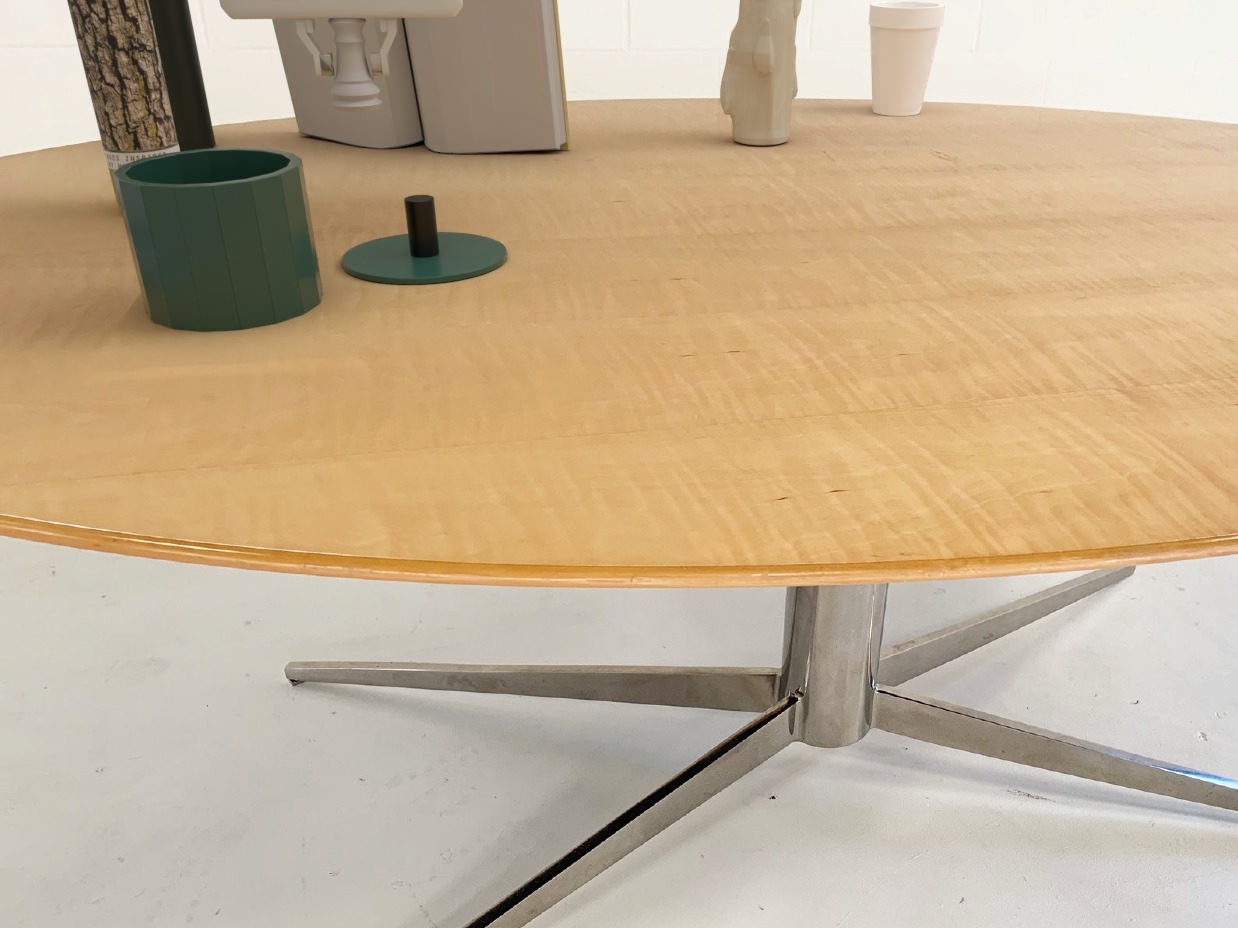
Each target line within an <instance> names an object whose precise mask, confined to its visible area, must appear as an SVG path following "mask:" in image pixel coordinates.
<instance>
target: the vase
mask: <svg viewBox="0 0 1238 928" xmlns="http://www.w3.org/2000/svg"><path fill="white" fill-rule="evenodd" d="M802 1H803V0H739V7H738V17H737V21H736V24H735V25H734V26H733V29H732V31H731V32H730V37H729V41H728V49H727V53H726V59H725V64H724V68H723V74H722V77H721V81H720V87H719V88H720V89H719V102H720V104H721V109H722V110H723V113H724V114H723V115H724V116H725V115H727V116H730V118H731V128H732V129H731V135H732V137H733V140H734V142H737V143H740V144H743V145H748V146H762V147H765V146H775V145H776V146H777V145H780V144H783V143H786V142H788V140H789V138H790V135H791V125H792V124H791V122H792V102H793V100H794V99H795V98H796V97H797V96H798V91H799V88H798V78H797V77H798V76H797V67H796V61H797V45H796V36H797V25H798V24H797V23H798V18H799V15H800V14H801V9H802Z"/></svg>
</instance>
